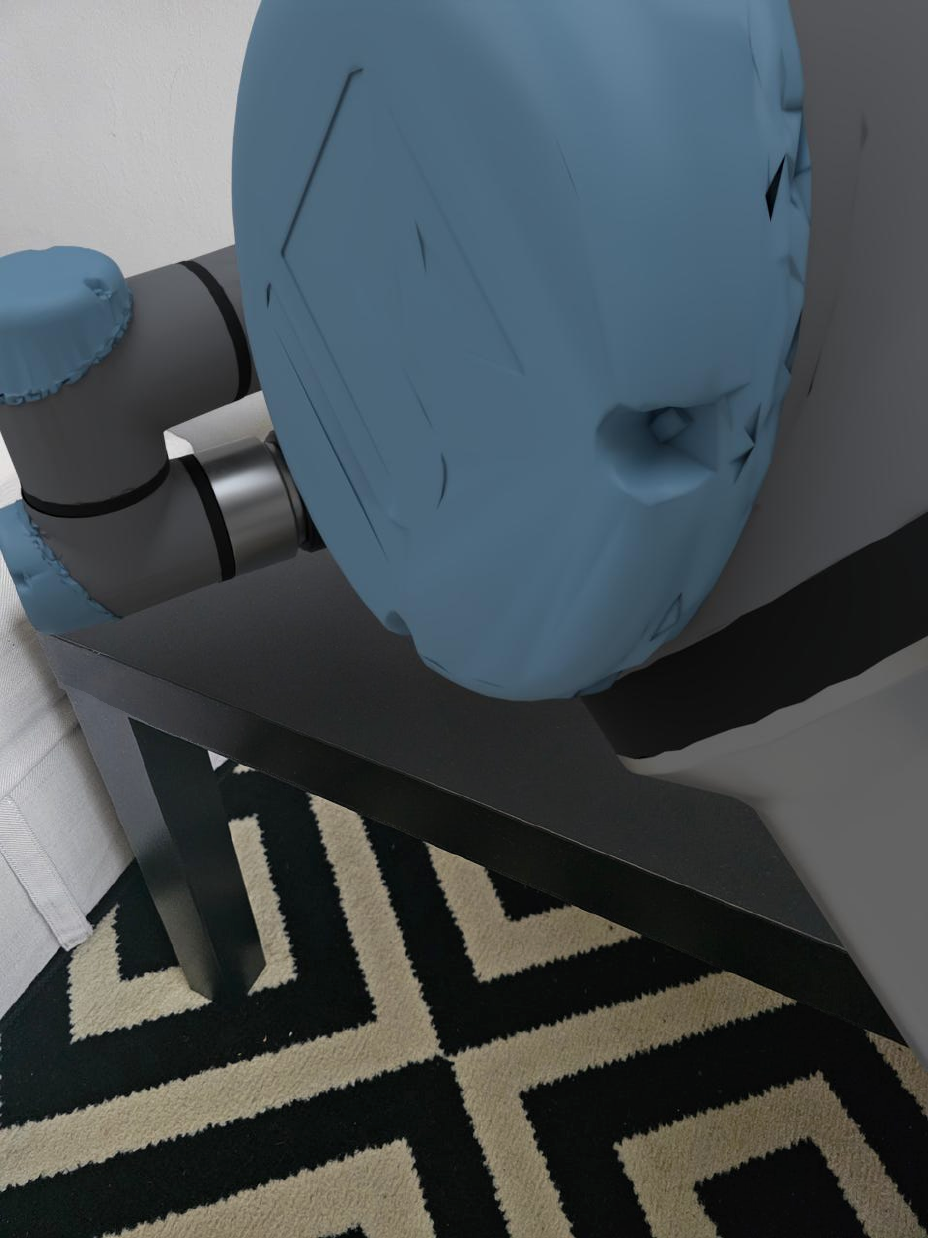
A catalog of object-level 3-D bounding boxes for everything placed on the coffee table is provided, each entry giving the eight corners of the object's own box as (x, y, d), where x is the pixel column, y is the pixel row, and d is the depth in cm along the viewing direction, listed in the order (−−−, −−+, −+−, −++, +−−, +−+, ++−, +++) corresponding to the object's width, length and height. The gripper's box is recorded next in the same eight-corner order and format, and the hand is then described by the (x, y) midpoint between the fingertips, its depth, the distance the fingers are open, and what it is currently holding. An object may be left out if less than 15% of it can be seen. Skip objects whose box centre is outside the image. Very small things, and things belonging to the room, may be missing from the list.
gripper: (224, 453, 70) (488, 377, 77) (377, 668, 53) (694, 544, 61) (203, 353, 65) (487, 282, 72) (365, 555, 48) (712, 436, 56)
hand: (582, 401), depth 67 cm, fingers open, 13 cm apart
